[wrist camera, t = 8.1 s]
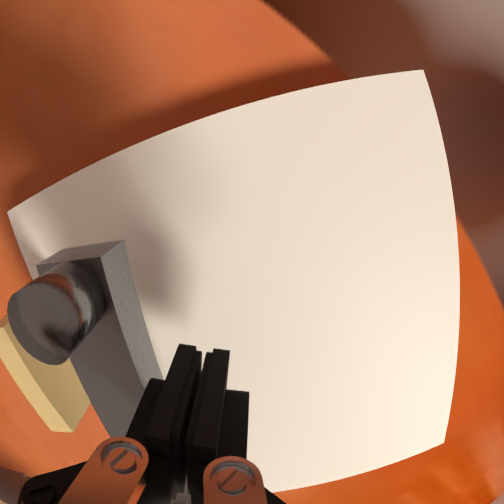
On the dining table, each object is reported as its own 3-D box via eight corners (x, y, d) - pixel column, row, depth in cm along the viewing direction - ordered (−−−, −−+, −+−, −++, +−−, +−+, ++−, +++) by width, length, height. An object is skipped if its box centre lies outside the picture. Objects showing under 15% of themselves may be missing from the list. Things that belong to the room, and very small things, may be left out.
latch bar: (227, 478, 16) (219, 558, 10) (181, 476, 16) (165, 552, 10) (156, 221, 11) (70, 286, 6) (89, 231, 11) (-14, 292, 6)
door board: (186, 483, 19) (174, 546, 13) (25, 205, 13) (-61, 237, 7) (436, 428, 17) (466, 489, 11) (407, 76, 11) (491, 42, 5)
